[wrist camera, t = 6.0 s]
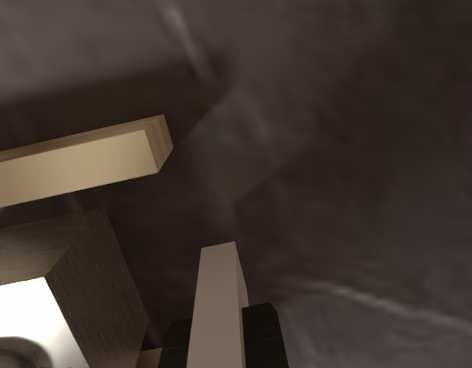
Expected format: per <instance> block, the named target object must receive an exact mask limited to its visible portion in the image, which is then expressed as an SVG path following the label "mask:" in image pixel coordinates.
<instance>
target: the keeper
mask: <svg viewBox="0 0 472 368" xmlns="http://www.w3.org/2000/svg"><path fill="white" fill-rule="evenodd" d="M148 322H149V319H148V317H147V314H146V312H145V309H144V307H143V304H142V301H141V299H140V296H139V294H138V291H137V289H136V286H135V284H134V281H133V279H132V276H131V274H130V271H129V268H128V266H127V263H126V261H125V258H124V256H123V253H122V251H121V248H120V246H119V243H118V241H117V238H116V235H115V233H114V230H113V228H112V225H111V223H110V220H109V218H108V215H107V213H106V210H105V207H100V208H95V209H90V210H86V211H81V212H76V213H71V214H67V215H62V216H57V217H52V218H48V219H43V220H38V221H33V222H29V223H24V224H19V225H14V226H10V227H5V228H0V368H135V366H136V363H137V359H138V356H139V353H140V349H141V346H142V343H143V339H144V336H145V333H146V329H147V326H148Z"/></svg>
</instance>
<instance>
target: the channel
mask: <svg viewBox="0 0 472 368" xmlns="http://www.w3.org/2000/svg"><path fill="white" fill-rule="evenodd" d="M173 148H174V147H173V144H172V140H171V137H170V133H169V130H168V127H167V123H166V120H165V117H164V114H162V115H157V116H153V117H148V118H144V119H140V120H135V121H131V122H127V123H122V124H118V125H114V126H109V127H105V128H100V129H96V130H92V131H87V132H83V133H79V134H74V135H70V136H66V137H61V138H57V139H52V140H48V141H44V142H39V143H35V144H31V145H26V146H22V147H17V148H13V149H9V150H4V151H0V207H5V206H9V205H14V204H18V203H23V202H27V201H32V200H36V199H41V198H45V197H50V196H55V195H59V194H64V193H68V192H73V191H77V190H82V189H86V188H91V187H95V186H100V185H104V184H109V183H113V182H118V181H123V180H127V179H132V178H136V177H141V176H145V175H150V174H154V173H158V172H159V171H160V169H161V167H162V166H163V164H164V162H165V161H166V159H167V158H168V156H169V154H170V153H171V151H172V150H173ZM161 351H162V348H157V349H152V350H147V351H142V352H140V353H139V356H138V359H137V363H136V366H135V368H157V367H158V363H159V361H160V360H159V358H160V354H161Z"/></svg>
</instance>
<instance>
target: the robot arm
mask: <svg viewBox="0 0 472 368" xmlns="http://www.w3.org/2000/svg"><path fill="white" fill-rule="evenodd" d="M159 360H160V361H159V363H158V367H157V368H289V366H288V361H287V356H286V352H285V347H284V342H283V338H282V333H281V328H280V324H279V319H278V314H277V311H276V310H275V309H274V308H273V307H272V305H271V304H270V303H264V304H258V305H253V306H249V305H248V295H247V289H246V285H245V281H244V277H243V273H242V269H241V265H240V261H239V257H238V253H237V249H236V244H235V241H234V242H229V243H224V244H219V245H214V246H210V247H205V248H201V256H200V264H199V272H198V280H197V288H196V296H195V304H194V312H193V318H192V319H187V320H182V321H177V322H173V323H172V324H171V326H170V327H169V329H168V330H167V332H166V334H165V336H164V340H163V345H162V351H161V354H160V358H159Z"/></svg>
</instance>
